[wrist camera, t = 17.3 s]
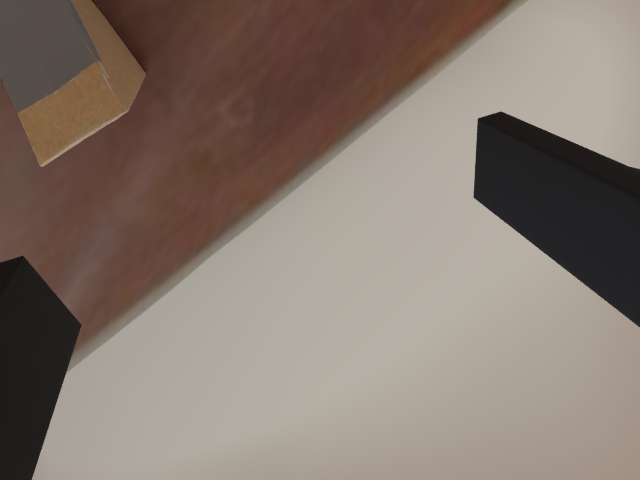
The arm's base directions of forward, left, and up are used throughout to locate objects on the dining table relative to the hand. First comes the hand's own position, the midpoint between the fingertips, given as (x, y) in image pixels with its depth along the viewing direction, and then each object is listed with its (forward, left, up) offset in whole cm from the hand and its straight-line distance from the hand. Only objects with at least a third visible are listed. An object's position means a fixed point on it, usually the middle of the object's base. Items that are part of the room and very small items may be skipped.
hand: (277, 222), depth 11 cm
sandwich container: (-14, -5, -38) cm, 41 cm away
